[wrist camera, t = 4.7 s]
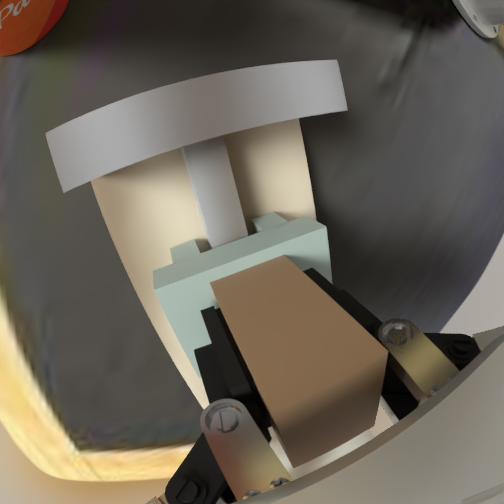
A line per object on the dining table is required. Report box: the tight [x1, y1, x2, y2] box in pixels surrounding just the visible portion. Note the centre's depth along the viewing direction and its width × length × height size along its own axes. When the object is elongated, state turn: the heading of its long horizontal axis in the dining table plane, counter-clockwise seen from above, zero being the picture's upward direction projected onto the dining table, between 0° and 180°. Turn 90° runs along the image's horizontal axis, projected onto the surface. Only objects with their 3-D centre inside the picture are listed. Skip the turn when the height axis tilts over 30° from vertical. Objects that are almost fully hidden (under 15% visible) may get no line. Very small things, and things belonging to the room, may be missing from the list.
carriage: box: [153, 212, 388, 469], centre depth 11 cm, size 7×5×9 cm
